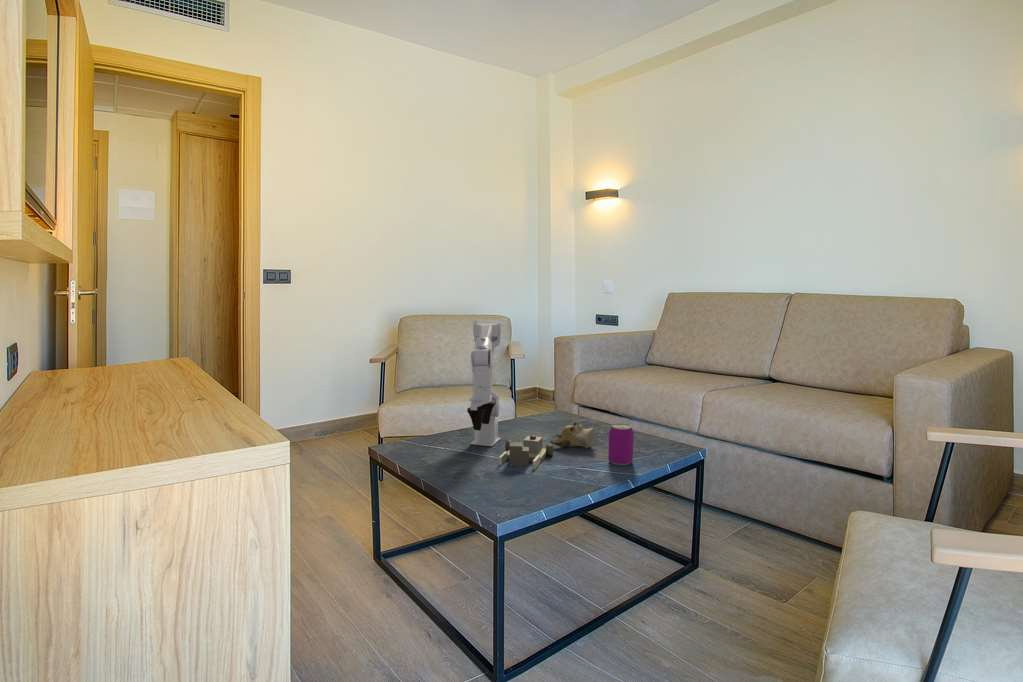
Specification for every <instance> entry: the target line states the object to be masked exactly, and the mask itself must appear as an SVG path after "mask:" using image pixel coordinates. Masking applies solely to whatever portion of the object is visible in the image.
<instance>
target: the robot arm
mask: <svg viewBox="0 0 1023 682" xmlns="http://www.w3.org/2000/svg"><path fill="white" fill-rule="evenodd" d="M472 335H473V342H474V347H473V348H474V349H473V350H471V353H470V364H471V372H472V395H471V397H470V398H469V401H470V407H467V409H466V411H467V413H468V415H469V417H470V419H471V420H470V421H471V423H472V427H473V431H474V440H473V441H471V442H470V445H474V446H482V447H483V446H485V447H493V446H494V445H496V444H497V442H499V441H500V440H501V437H499V420H498V419H497V418H498V417H499V415H500V397H499V395H498V394H497V393H496V392H495V391H494V390H493V369H494V368H493V367H494V362H493V361H494V353H495V352H494V351H495V349H496V348H497V347H499V346H500V345H501V344H500V343H501V338H502V337H501V335H502V323H501V321H500V320H474V321H473V324H472Z"/></svg>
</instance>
